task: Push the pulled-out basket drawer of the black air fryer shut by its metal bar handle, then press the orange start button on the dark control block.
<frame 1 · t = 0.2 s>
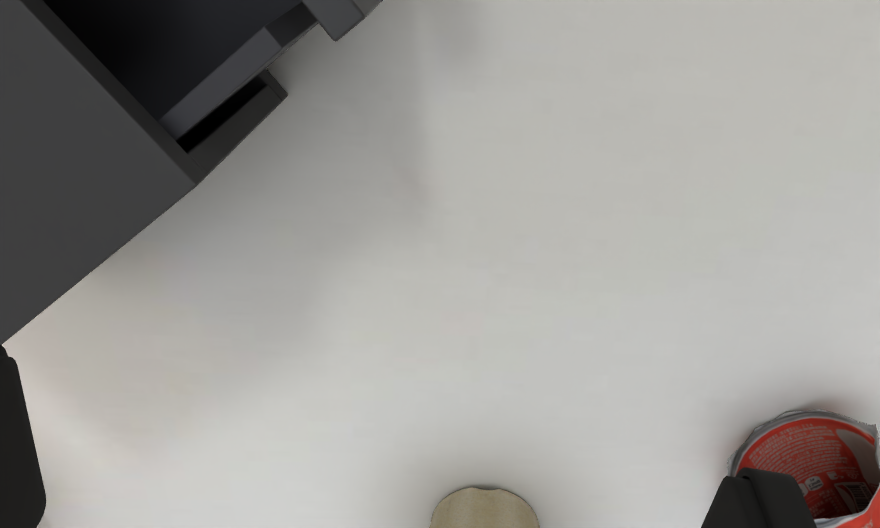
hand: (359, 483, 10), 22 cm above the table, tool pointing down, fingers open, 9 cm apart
flower pot: (487, 519, 42), on the table
air fryer: (68, 76, 31), on the table
beverage can: (824, 484, 38), on the table
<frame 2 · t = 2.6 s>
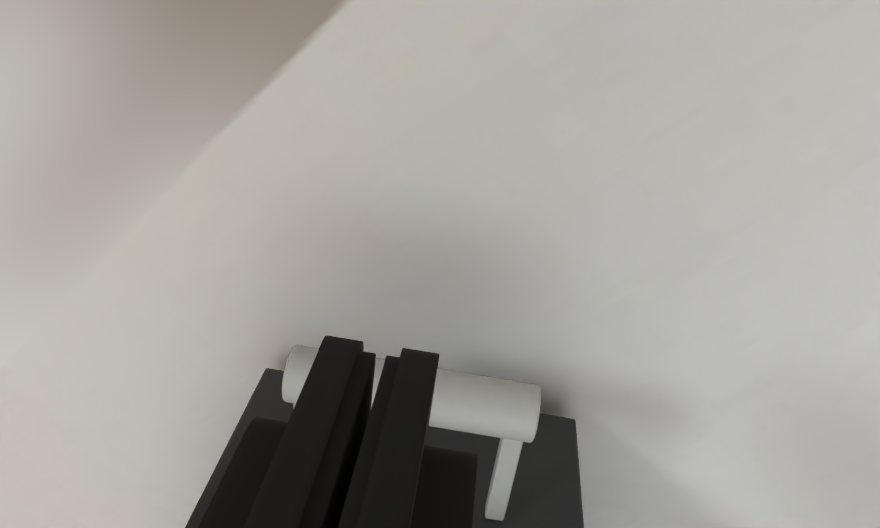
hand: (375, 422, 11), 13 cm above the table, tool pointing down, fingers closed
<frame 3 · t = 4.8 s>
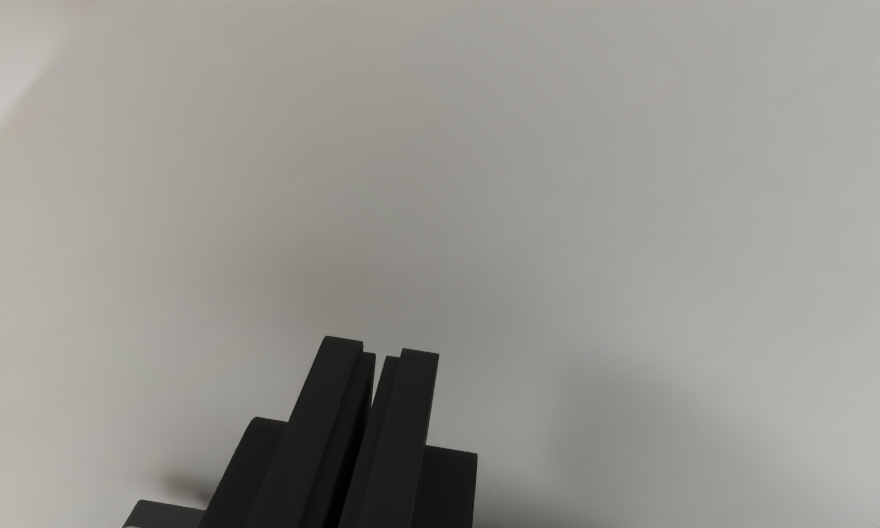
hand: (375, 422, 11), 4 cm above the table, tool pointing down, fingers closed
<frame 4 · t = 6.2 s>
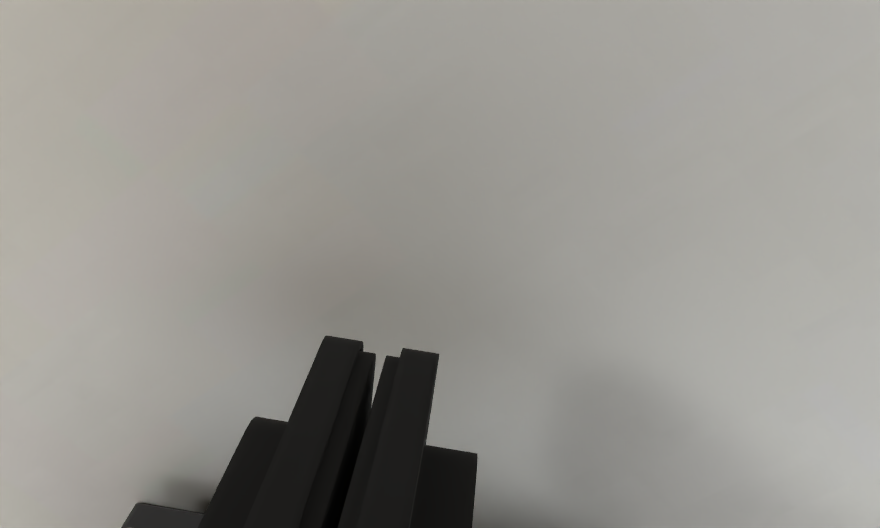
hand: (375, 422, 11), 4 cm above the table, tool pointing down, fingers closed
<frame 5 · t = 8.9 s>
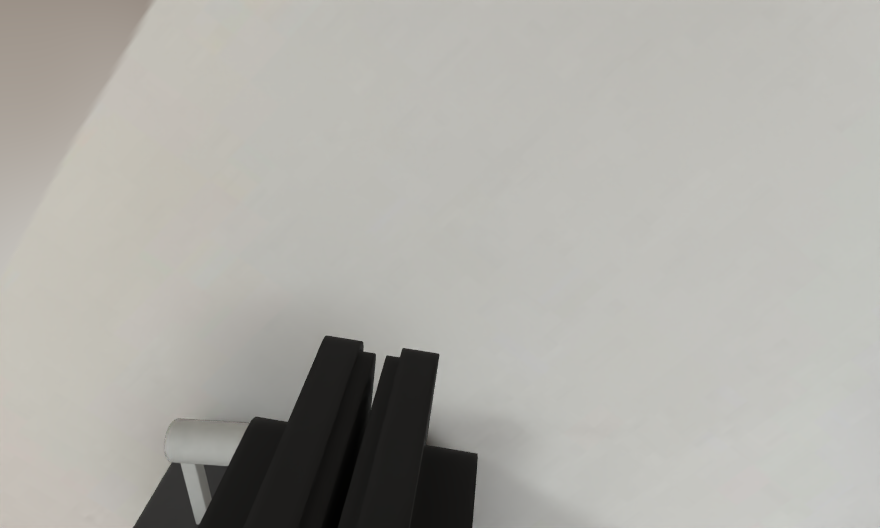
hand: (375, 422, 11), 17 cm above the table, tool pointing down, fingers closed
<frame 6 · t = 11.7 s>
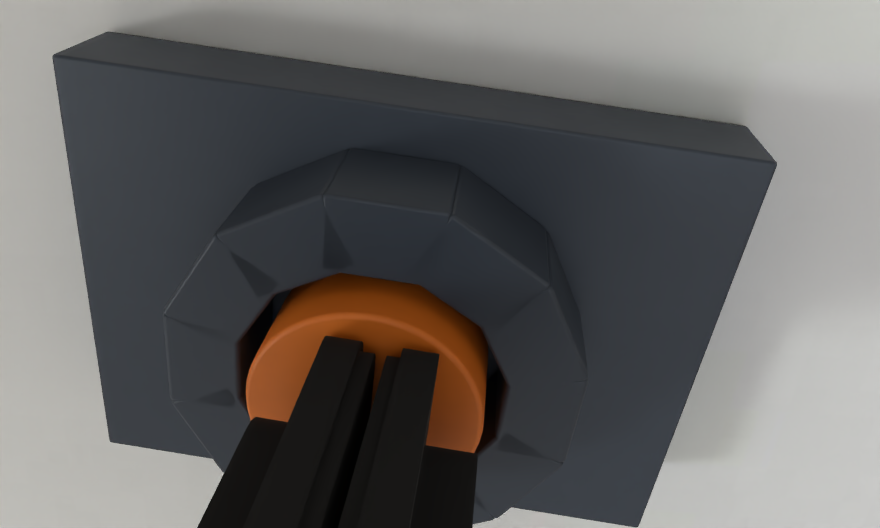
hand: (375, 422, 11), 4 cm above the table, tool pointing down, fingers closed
control block: (401, 277, 14), on the table
start button: (373, 378, 11), point 3 cm above the table, slide at -0.7 cm, touching gripper
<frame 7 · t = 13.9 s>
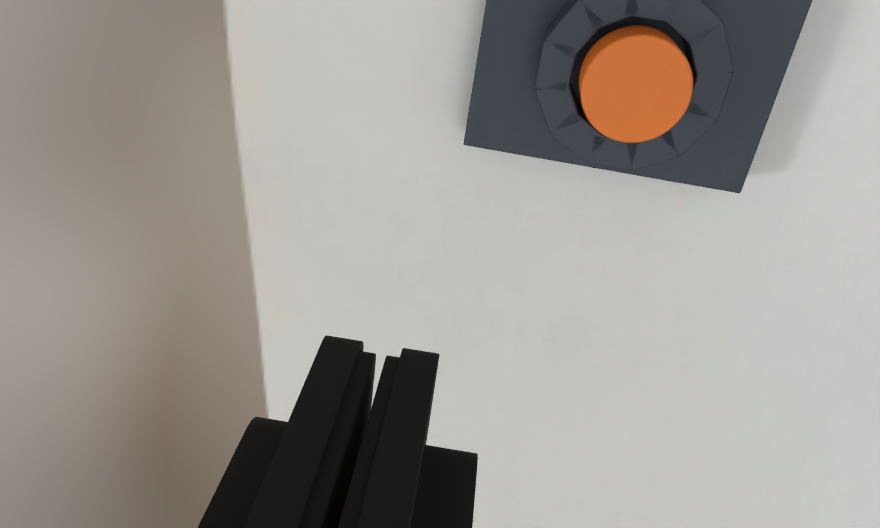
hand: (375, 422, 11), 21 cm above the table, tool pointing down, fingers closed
control block: (623, 57, 28), on the table
start button: (633, 84, 24), point 4 cm above the table, slide at 0.1 cm
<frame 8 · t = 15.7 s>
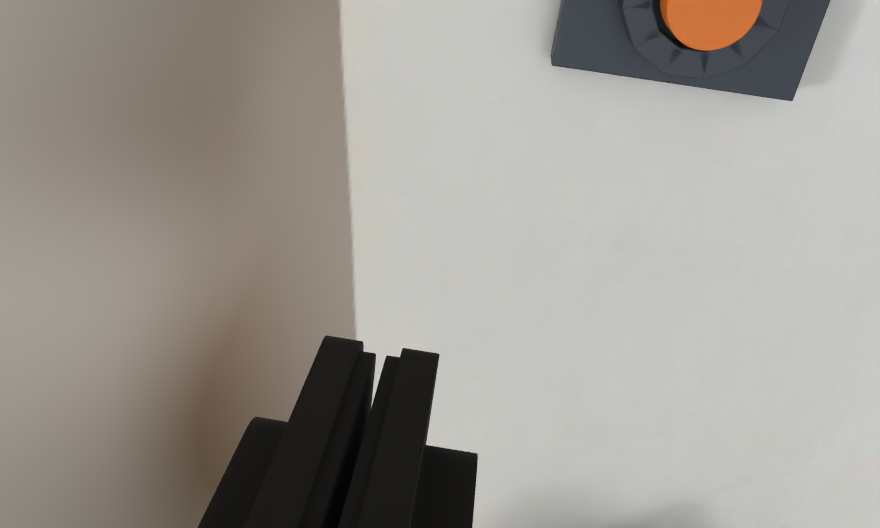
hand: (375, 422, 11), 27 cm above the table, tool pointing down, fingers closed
start button: (709, 0, 29), point 4 cm above the table, slide at 0.1 cm
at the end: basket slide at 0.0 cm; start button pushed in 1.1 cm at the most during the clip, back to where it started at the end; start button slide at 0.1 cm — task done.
